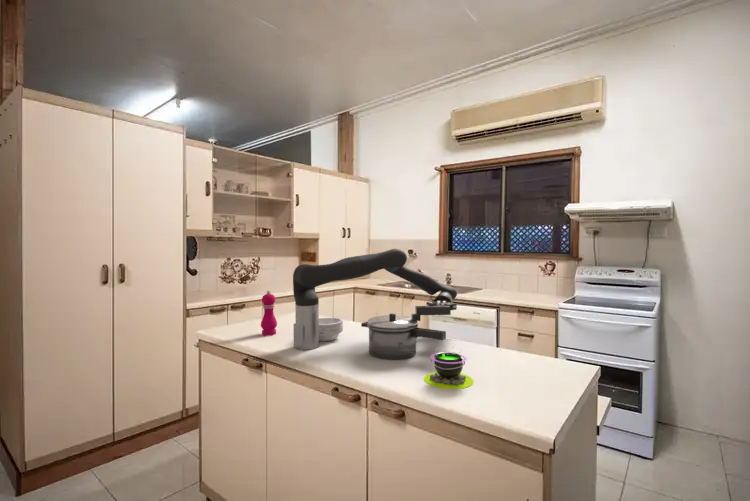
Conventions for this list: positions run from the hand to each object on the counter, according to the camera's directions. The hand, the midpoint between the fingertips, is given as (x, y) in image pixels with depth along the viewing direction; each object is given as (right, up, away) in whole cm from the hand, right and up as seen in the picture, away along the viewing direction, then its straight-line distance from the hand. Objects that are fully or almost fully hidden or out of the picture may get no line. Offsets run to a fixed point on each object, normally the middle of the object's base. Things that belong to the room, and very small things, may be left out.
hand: (439, 309), depth 152 cm
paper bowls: (-47, -16, +18) cm, 53 cm away
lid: (-12, -5, -3) cm, 13 cm away
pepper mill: (-74, -15, +27) cm, 80 cm away
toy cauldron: (-2, -17, -32) cm, 36 cm away
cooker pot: (-15, -16, -5) cm, 23 cm away
